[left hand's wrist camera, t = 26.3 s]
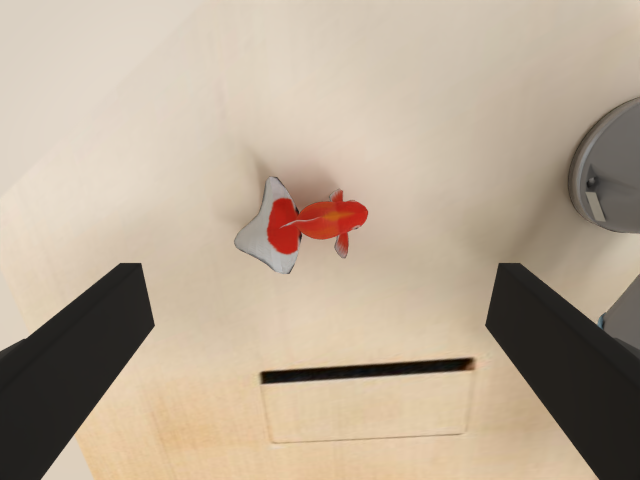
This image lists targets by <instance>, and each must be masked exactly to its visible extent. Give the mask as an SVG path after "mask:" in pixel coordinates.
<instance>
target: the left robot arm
mask: <svg viewBox="0 0 640 480" xmlns="http://www.w3.org/2000/svg"><path fill="white" fill-rule="evenodd" d="M568 187H569V194H570V198H571V200H572V203H573V205H574V207H575V208H576V210H577V211H578V212H579V213H580V215H581V216H583V217H584V218H585V219H586V220H588V221H590V222H592V223H594V224H596V225H598V226H600V227H603V228H605V229H607V230H610V231H614V232H621V233H638V234H640V97H639V98H636V99H634V100H631V101H629V102H627V103H624V104H622V105H621V106H619V107H617V108H615V109H614V110H612V111H611V112H610V113H608V114H607V115H606V116H604V117H603V118H602V119H601V120H600V121H599V122H598V123H597V124H596V125H595V126H594V127H593V128H592V129H591V130H590V131H589V132H588V134H587V135H586V136H585V138H584V139H583V141H582V142H581V144H580V145H579V147H578V149H577V151H576V153H575V155H574V158H573V160H572V164H571V167H570V172H569V180H568ZM154 326H155V324H154V320H153V315H152V311H151V306H150V301H149V297H148V292H147V288H146V283H145V279H144V274H143V269H142V265H141V263H120V264H119V265H117V266H116V267H115V268H114V269H112V270H111V271H110V272H109V273H107V274H106V275H105V276H104V277H102V278H101V279H100V280H99V281H97V282H96V283H95V284H94V285H92V286H91V287H90V288H89V289H87V290H86V291H85V292H84V293H82V294H81V295H80V296H79V297H77V298H76V299H75V300H74V301H72V302H71V303H70V304H69V305H67V306H66V307H65V308H64V309H62V310H61V311H60V312H59V313H57V314H56V315H55V316H54V317H53V318H51V319H50V320H49V321H48V322H46V323H45V324H44V325H43V326H41V327H40V328H39V329H38V330H36V331H35V332H34V333H33V334H31V335H30V336H29V337H28V338H26V339H23V340H21V341H19V342H17V343H15V344H13V345H11V346H10V347H8V348H6V349H4V350H2V351H0V480H41V478H42V477H43V476H44V475H45V473H46V472H47V470H48V469H49V468H50V466H51V465H52V464H53V462H54V461H55V460H56V458H57V457H58V456H59V454H60V453H61V452H62V450H63V449H64V448H65V446H66V445H67V444H68V442H69V441H70V439H71V438H72V437H73V435H74V434H75V433H76V431H77V430H78V429H79V427H80V426H81V425H82V423H83V422H84V421H85V419H86V418H87V417H88V415H89V414H90V412H91V411H92V410H93V408H94V407H95V406H96V404H97V403H98V402H99V400H100V399H101V398H102V396H103V395H104V394H105V392H106V391H107V390H108V388H109V387H110V385H111V384H112V383H113V381H114V380H115V379H116V377H117V376H118V375H119V373H120V372H121V371H122V369H123V368H124V367H125V365H126V364H127V363H128V361H129V360H130V359H131V357H132V356H133V354H134V353H135V352H136V350H137V349H138V348H139V346H140V345H141V344H142V342H143V341H144V340H145V338H146V337H147V336H148V334H149V333H150V332H151V330H152V329H153V327H154ZM485 326H486V327H487V329H488V330H489V332H490V333H491V334H492V336H493V337H494V338H495V340H496V341H497V342H498V344H499V345H500V346H501V348H502V349H503V350H504V352H505V353H506V354H507V356H508V357H509V359H510V360H511V361H512V363H513V364H514V365H515V367H516V368H517V369H518V371H519V372H520V373H521V375H522V376H523V377H524V379H525V380H526V381H527V383H528V384H529V385H530V387H531V388H532V390H533V391H534V392H535V394H536V395H537V396H538V398H539V399H540V400H541V402H542V403H543V404H544V406H545V407H546V408H547V410H548V411H549V412H550V414H551V415H552V417H553V418H554V419H555V421H556V422H557V423H558V425H559V426H560V427H561V429H562V430H563V431H564V433H565V434H566V435H567V437H568V438H569V439H570V441H571V442H572V444H573V445H574V446H575V448H576V449H577V450H578V452H579V453H580V454H581V456H582V457H583V458H584V460H585V461H586V462H587V464H588V465H589V466H590V468H591V469H592V470H593V472H594V473H595V475H596V476H597V477H598V479H599V480H640V274H639V275H638V276H637V278H636V279H635V280H634V281H633V282H632V284H631V285H630V286H629V287H628V288H627V290H626V291H625V292H624V293H623V294H622V295H621V297H620V298H619V299H618V300H617V301H616V302H615V303H614V305H613V306H612V307H611V308H610V309H609V310H608V311H607V313H604V314H603V315H601V317H600V318H599V320H598V324H597V325H596V324H595V323H594V322H592V321H591V320H590V319H589V318H587V317H586V316H585V315H584V314H583V313H581V312H580V311H579V310H578V309H576V308H575V307H574V306H573V305H571V304H570V303H569V302H568V301H566V300H565V299H564V298H563V297H561V296H560V295H559V294H558V293H556V292H555V291H554V290H553V289H551V288H550V287H549V286H548V285H546V284H545V283H544V282H543V281H541V280H540V279H539V278H538V277H536V276H535V275H534V274H533V273H531V272H530V271H529V270H528V269H526V268H525V267H524V266H523V265H521V264H520V263H499V265H498V269H497V274H496V279H495V283H494V288H493V292H492V297H491V301H490V306H489V311H488V315H487V320H486V324H485Z"/></svg>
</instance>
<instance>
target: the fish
mask: <svg viewBox="0 0 640 480" xmlns="http://www.w3.org/2000/svg"><path fill="white" fill-rule="evenodd" d="M329 198H330V201H331V202H318V203H314V204H311V205H309V206H307V207H306V208H304V209H303V210H302V211H301V212H300V214H299V211H298V209H297V207H296V205H295V203H294V201H293V199H292V198H291V196H290V194H289V192H288V191H287V189H286V188H285V187H284V185H283V184H282V183H281V182H280V180H279V179H278V178H277V177H269V178H268V179H267V181H266V184H265V190H264V195H263V201H262V205H261V208H260V211H259V214H258V215H257V216H256V217H255V218H254V219H253V220H252V221H251V222H250V223H249V224H248V225H247V226H245V227H244V228H243V229H242V230H241V231H240V232H239V233H238V234H237V236H236V238H235V240H234V244H235V246H236V248H238V249H239V250H241V251H243V252H245V253H247V254H249V255H251V256H253V257H255V258H257V259H259V260H260V261H262V262H264V263H265V264H267V265H268V266H269V267H270V268H271V269H273V270H274V271H275V272H279V273H282V274H290V272H291V270H292V268H293V266H294V264H295V261H296V258H297V255H298V251H299V247H300V242H301V237H302V234H301V232H302V233H303V234H305V235H307V236H309V237H311V238H314V239H328V238H332V237H335V236H337V240H336V243H335V250H336V251H337V253H338V254H339V255H340V256H341V257H342V258H346V256H347V253H348V245H349V241H348V233H347V232H349V231H351V230H353V229H357V228H359V227H360V226H362V225H363V224H364V222H365V221H366V219H367V216H368V210H367V209H366V207H365V206H363V205H362V204H360V203H359V202H357V201H355V200H349V201H347V202H343V191H342V190H340V189H338V190H336V191H334V192H333V193H332V194H331V195H330V196H329Z"/></svg>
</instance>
